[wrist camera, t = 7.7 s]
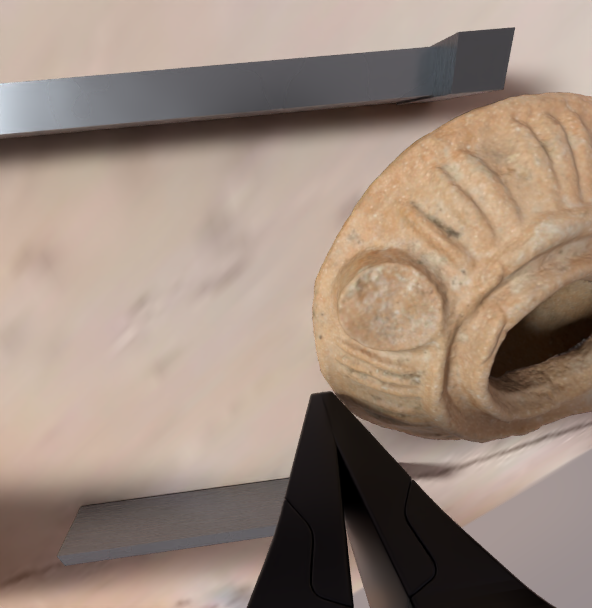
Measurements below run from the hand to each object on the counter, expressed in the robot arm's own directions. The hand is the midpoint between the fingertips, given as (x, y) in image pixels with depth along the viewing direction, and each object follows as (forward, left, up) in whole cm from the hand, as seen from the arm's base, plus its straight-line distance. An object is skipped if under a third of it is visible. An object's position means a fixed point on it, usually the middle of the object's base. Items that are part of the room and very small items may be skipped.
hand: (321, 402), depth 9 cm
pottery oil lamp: (+6, +2, -3) cm, 7 cm away
